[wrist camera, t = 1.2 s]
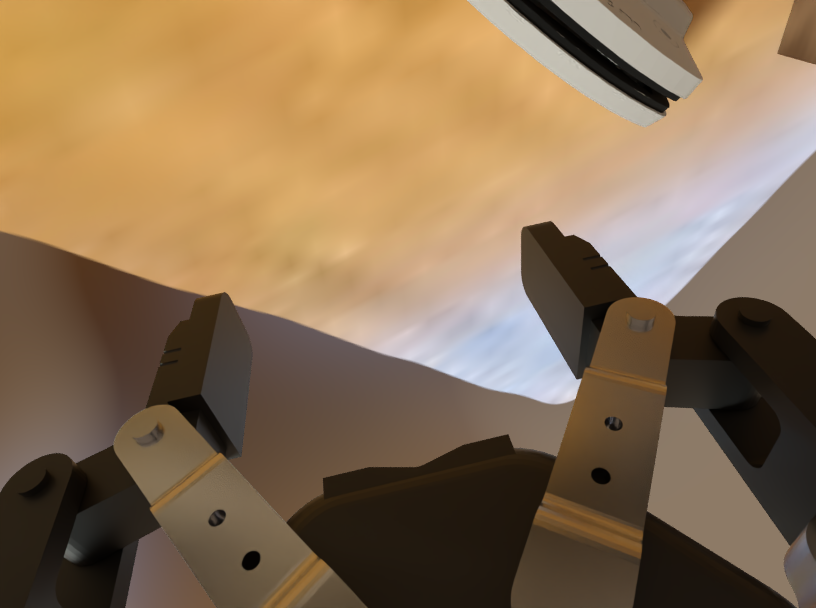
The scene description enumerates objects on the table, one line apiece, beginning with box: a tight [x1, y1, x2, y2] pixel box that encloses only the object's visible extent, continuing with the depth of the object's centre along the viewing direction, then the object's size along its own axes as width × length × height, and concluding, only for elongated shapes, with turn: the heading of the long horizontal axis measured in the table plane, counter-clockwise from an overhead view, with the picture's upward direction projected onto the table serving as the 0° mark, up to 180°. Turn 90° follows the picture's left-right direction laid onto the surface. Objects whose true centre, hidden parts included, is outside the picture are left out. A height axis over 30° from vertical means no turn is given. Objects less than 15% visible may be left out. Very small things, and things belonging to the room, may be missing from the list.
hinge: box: [467, 0, 703, 127], centre depth 27 cm, size 17×5×10 cm, turn 60°
